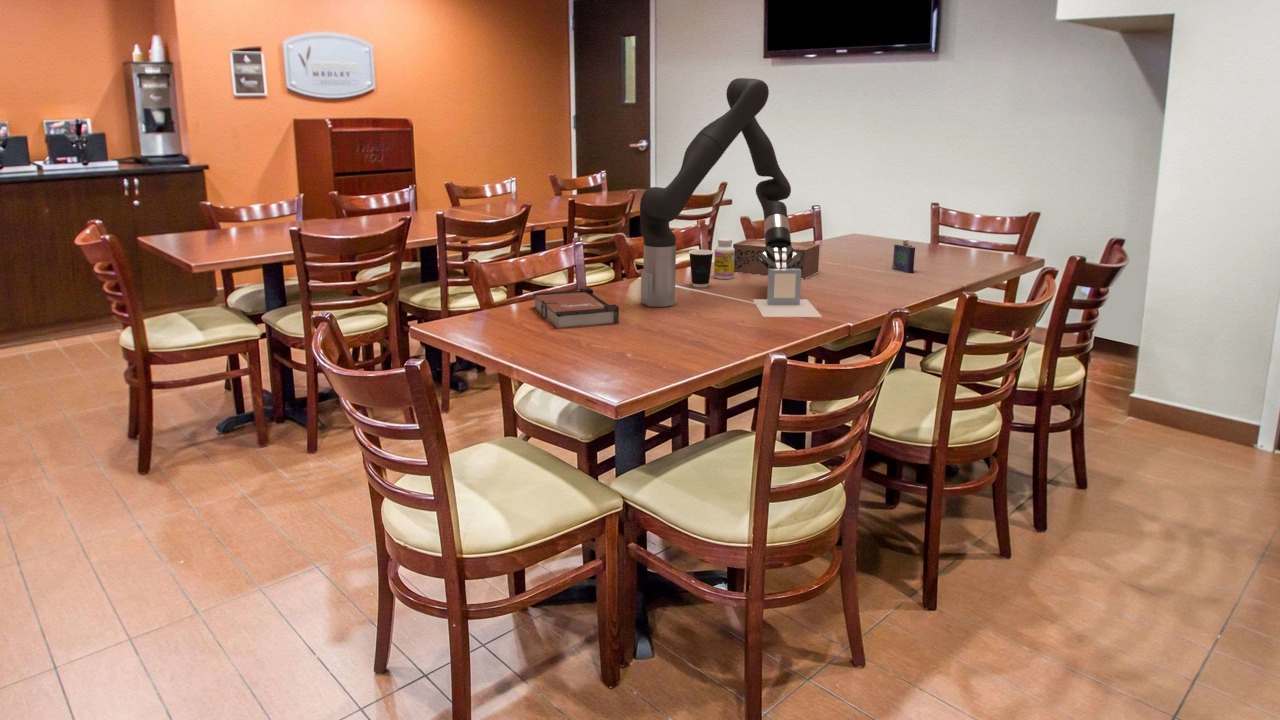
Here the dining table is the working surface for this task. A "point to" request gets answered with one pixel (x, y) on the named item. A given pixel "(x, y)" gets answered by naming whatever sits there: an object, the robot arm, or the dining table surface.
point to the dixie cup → (700, 267)
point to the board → (787, 309)
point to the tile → (784, 286)
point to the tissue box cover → (749, 260)
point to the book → (575, 309)
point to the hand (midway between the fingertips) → (781, 281)
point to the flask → (903, 257)
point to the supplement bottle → (724, 259)
